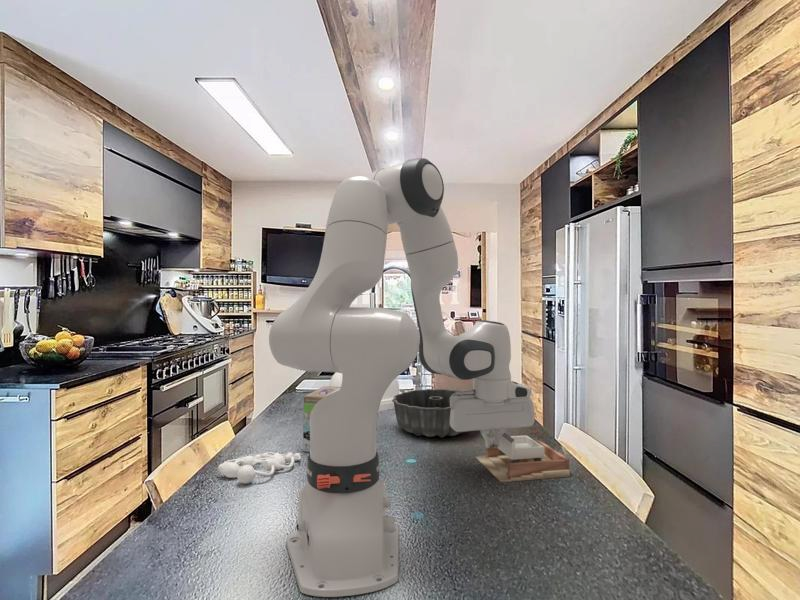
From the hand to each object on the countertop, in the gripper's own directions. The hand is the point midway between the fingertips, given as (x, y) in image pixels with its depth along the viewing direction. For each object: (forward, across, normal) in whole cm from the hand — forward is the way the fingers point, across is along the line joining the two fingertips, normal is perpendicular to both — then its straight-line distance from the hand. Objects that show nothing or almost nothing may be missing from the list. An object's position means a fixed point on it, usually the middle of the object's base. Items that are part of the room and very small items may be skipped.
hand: (492, 446), depth 111 cm
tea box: (+5, -37, +25) cm, 45 cm away
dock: (+5, +7, -1) cm, 9 cm away
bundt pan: (+6, -5, +33) cm, 33 cm away
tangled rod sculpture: (+5, -54, +10) cm, 55 cm away
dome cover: (+6, -22, +72) cm, 75 cm away
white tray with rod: (+3, +7, 0) cm, 8 cm away
